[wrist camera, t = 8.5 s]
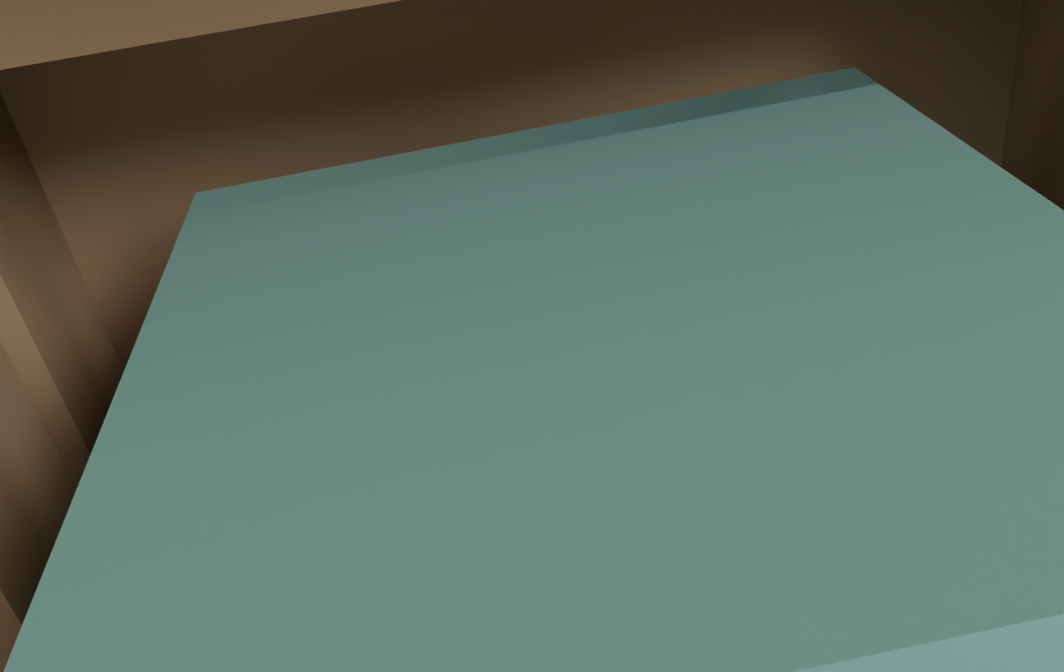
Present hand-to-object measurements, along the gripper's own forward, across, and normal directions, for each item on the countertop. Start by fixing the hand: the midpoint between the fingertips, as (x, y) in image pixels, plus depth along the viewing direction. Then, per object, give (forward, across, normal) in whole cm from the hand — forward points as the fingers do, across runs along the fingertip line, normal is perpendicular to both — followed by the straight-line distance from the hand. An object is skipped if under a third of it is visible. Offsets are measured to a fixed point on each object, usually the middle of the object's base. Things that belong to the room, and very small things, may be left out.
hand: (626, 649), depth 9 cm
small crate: (+2, 0, 0) cm, 2 cm away
